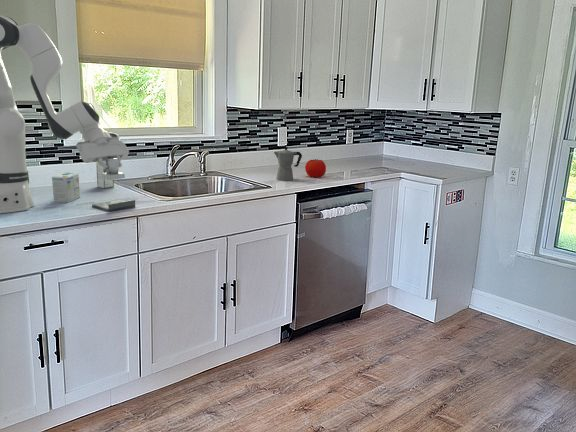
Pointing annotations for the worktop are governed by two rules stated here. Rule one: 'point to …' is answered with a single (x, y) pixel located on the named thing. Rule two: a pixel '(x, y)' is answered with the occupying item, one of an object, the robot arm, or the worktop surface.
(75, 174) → the light bulb box
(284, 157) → the coffeepot
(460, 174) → the worktop surface
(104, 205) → the seat plate
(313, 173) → the tomato
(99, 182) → the syrup box
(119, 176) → the hub
